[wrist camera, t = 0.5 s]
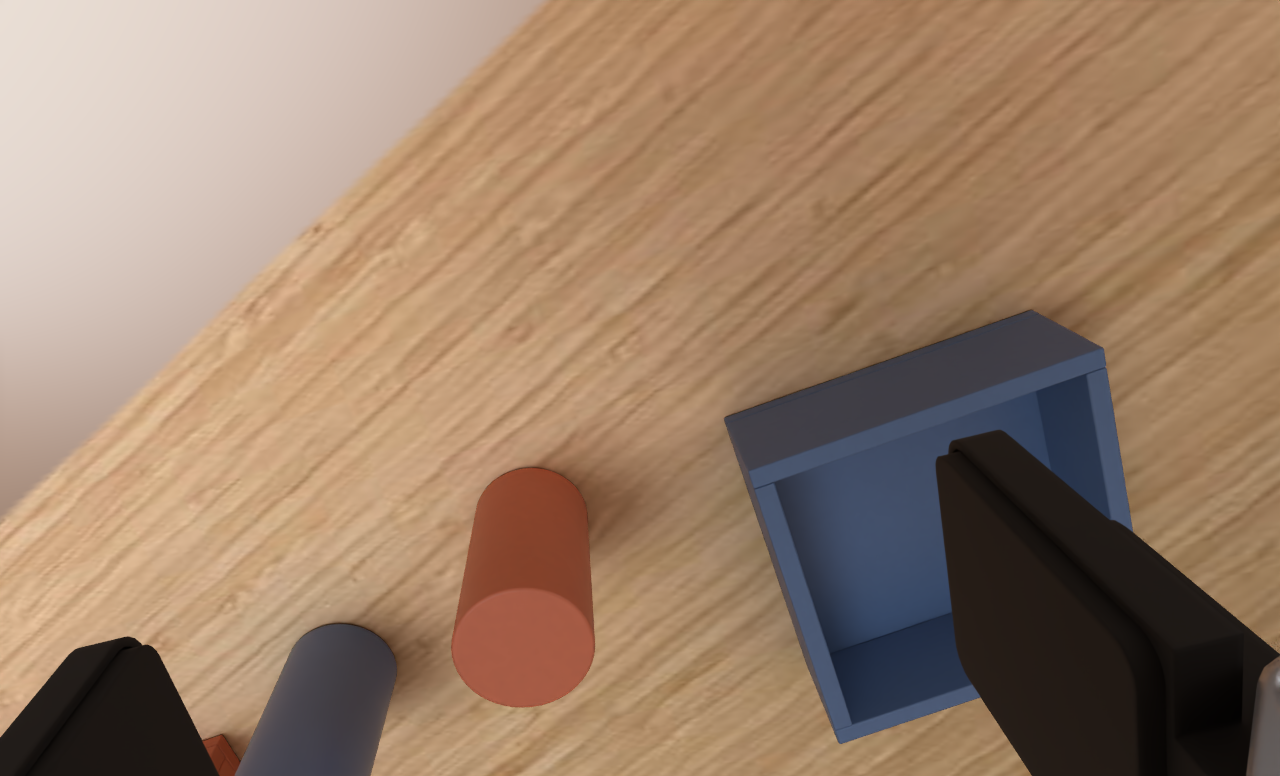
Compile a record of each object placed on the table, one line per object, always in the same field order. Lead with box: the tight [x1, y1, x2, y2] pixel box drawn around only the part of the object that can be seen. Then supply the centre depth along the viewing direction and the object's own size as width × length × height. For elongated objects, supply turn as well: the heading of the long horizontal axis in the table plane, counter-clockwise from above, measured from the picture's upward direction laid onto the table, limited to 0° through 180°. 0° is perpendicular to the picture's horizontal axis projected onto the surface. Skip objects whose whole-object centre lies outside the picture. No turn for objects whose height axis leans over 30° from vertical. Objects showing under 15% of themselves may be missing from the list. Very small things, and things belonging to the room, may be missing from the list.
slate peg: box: [235, 624, 397, 776], centre depth 27 cm, size 4×4×7 cm
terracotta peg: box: [451, 468, 595, 707], centre depth 26 cm, size 4×4×7 cm
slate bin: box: [724, 310, 1133, 744], centre depth 28 cm, size 10×10×4 cm
